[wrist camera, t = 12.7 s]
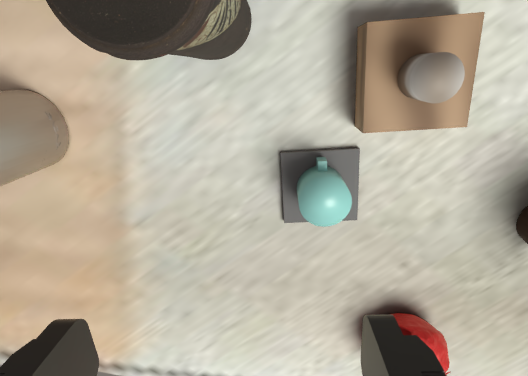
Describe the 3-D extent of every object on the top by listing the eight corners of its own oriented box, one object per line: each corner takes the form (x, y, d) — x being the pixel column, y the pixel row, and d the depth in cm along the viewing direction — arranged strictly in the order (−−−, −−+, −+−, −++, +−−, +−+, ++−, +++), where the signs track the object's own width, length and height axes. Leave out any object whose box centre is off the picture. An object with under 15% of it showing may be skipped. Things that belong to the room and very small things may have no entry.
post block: (354, 126, 36) (373, 141, 28) (357, 27, 32) (380, 15, 25) (447, 120, 35) (491, 135, 27) (460, 18, 31) (515, 3, 24)
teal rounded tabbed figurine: (295, 157, 37) (297, 169, 32) (345, 155, 36) (353, 166, 32) (297, 217, 39) (299, 236, 35) (343, 216, 39) (350, 234, 35)
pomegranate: (446, 316, 45) (488, 376, 36) (409, 364, 48) (439, 429, 39) (383, 294, 44) (410, 350, 35) (350, 344, 47) (367, 407, 38)
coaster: (284, 220, 40) (284, 222, 40) (280, 151, 37) (280, 153, 37) (356, 217, 40) (357, 220, 39) (358, 147, 36) (359, 148, 36)
